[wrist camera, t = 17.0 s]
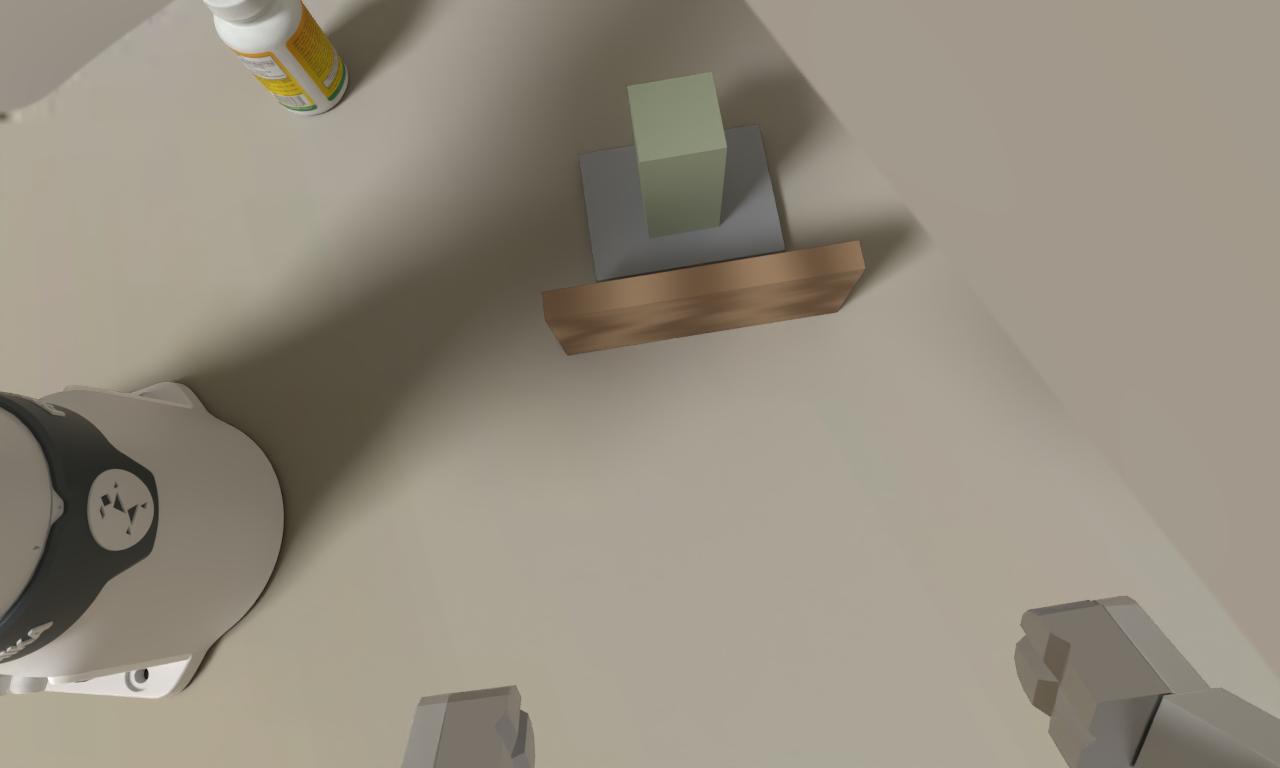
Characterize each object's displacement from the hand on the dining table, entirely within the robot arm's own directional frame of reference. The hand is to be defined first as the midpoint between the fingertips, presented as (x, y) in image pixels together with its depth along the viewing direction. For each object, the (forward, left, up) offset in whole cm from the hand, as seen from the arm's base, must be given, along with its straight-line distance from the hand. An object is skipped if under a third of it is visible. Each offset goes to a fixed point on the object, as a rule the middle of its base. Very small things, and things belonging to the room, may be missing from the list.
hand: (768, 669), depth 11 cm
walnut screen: (+2, +15, -29) cm, 33 cm away
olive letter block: (+2, +23, -29) cm, 37 cm away
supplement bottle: (-22, +37, -30) cm, 52 cm away
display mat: (+2, +23, -29) cm, 38 cm away
